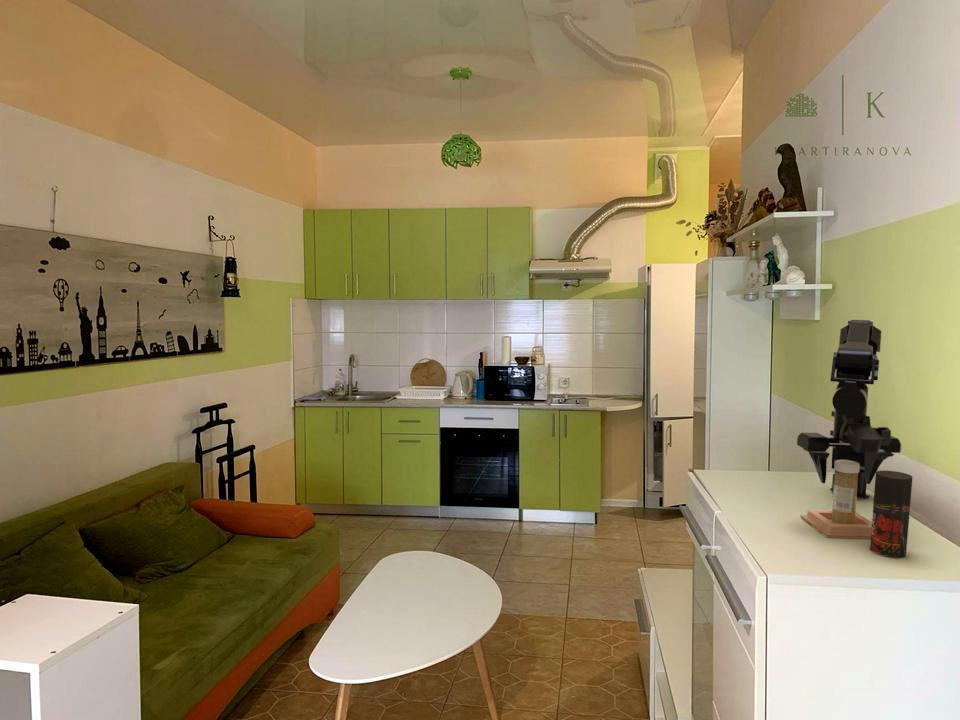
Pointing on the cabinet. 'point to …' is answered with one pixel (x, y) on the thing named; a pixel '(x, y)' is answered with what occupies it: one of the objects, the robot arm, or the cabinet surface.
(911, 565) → the cabinet surface
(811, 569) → the cabinet surface
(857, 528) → the tray
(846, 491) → the sprinkles bottle
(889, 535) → the deodorant
